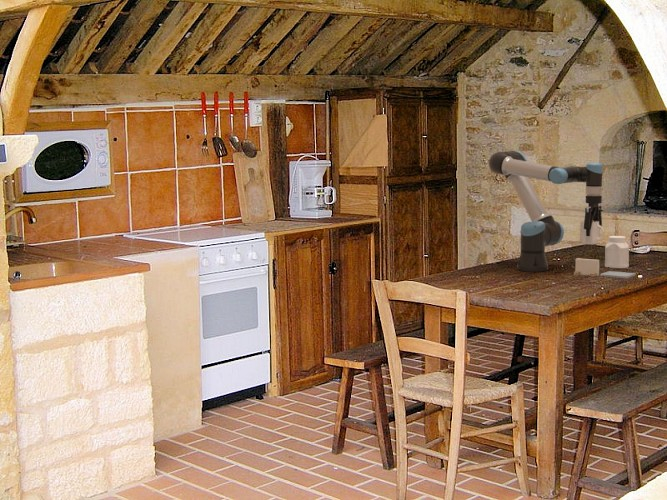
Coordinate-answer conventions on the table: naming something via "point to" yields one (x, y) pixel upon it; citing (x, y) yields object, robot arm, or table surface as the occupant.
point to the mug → (595, 233)
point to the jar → (617, 252)
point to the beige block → (587, 267)
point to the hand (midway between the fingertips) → (592, 241)
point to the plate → (618, 274)
